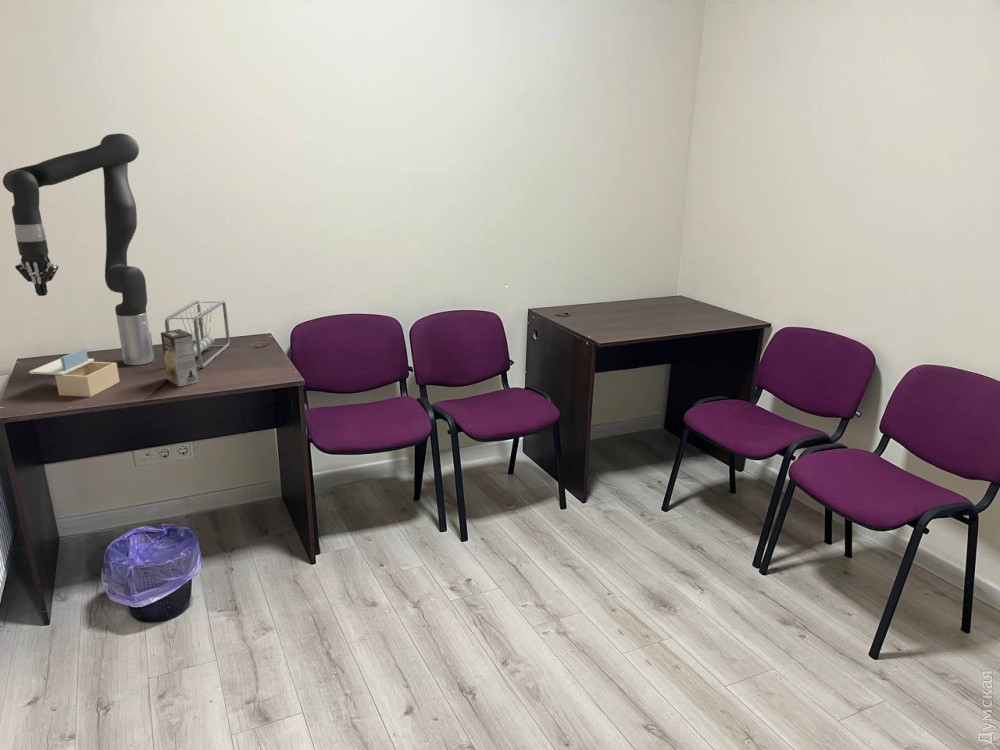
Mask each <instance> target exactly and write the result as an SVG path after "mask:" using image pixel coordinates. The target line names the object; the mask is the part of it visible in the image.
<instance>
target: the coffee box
mask: <svg viewBox="0 0 1000 750" xmlns="http://www.w3.org/2000/svg"><path fill="white" fill-rule="evenodd" d="M160 337H161V345H162V352H163V359H164V367H165V372H166V373H165V374H166V379H167V381H168V382H170V383H172V384H174V385H175V386H177V387H180V388H181V387H184V386H188V385H192V384H197V383H199V382H198V373H197V372H198V371H197V367H196V366H197V365H196V364H197V363H196V357H195V355H194V347H193V343H194V338H193V335H192V333H191V332H190V333H189V332H188V331H187V332H186V330H183V329H181V328H179V329H178V328H177V329H173V330H170V331H167V332H166V331H163V332H160Z"/></svg>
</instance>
